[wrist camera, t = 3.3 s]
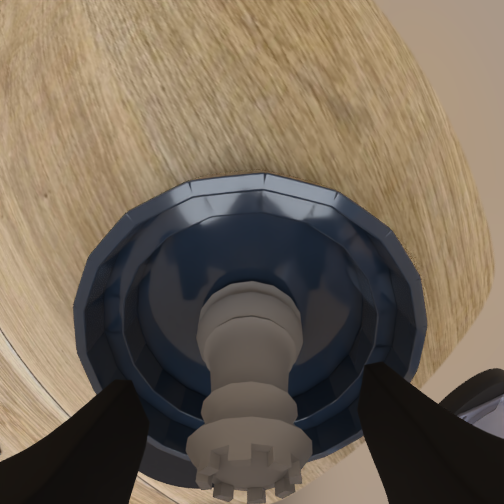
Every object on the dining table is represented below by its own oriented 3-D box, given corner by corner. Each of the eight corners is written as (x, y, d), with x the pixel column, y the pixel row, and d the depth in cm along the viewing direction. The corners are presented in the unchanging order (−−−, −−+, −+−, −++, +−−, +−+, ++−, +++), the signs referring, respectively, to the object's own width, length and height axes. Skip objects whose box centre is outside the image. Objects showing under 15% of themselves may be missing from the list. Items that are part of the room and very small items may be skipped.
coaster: (234, 416, 15) (234, 421, 15) (249, 485, 18) (249, 489, 18) (97, 409, 16) (95, 413, 15) (141, 479, 18) (140, 482, 18)
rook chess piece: (247, 377, 14) (245, 524, 6) (179, 319, 13) (121, 468, 5) (320, 324, 13) (374, 473, 6) (253, 254, 12) (256, 399, 5)
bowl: (388, 163, 12) (440, 167, 8) (370, 399, 15) (392, 448, 11) (89, 193, 12) (35, 208, 8) (152, 415, 16) (135, 465, 12)
